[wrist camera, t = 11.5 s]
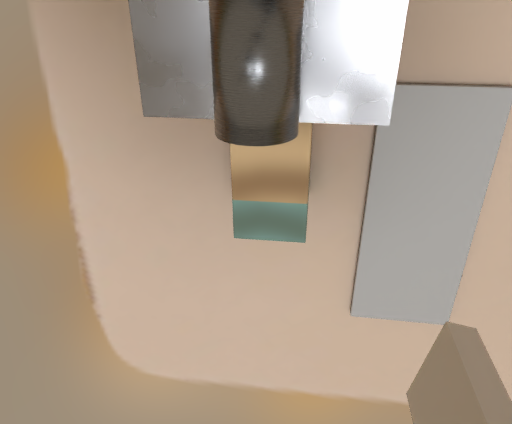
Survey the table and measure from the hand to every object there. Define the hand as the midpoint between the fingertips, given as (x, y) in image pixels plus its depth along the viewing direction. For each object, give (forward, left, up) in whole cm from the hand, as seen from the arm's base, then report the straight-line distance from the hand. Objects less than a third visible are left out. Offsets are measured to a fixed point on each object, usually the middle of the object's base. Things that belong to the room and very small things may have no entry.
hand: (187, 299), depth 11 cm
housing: (-4, 0, -24) cm, 24 cm away
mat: (+10, +12, -24) cm, 29 cm away
